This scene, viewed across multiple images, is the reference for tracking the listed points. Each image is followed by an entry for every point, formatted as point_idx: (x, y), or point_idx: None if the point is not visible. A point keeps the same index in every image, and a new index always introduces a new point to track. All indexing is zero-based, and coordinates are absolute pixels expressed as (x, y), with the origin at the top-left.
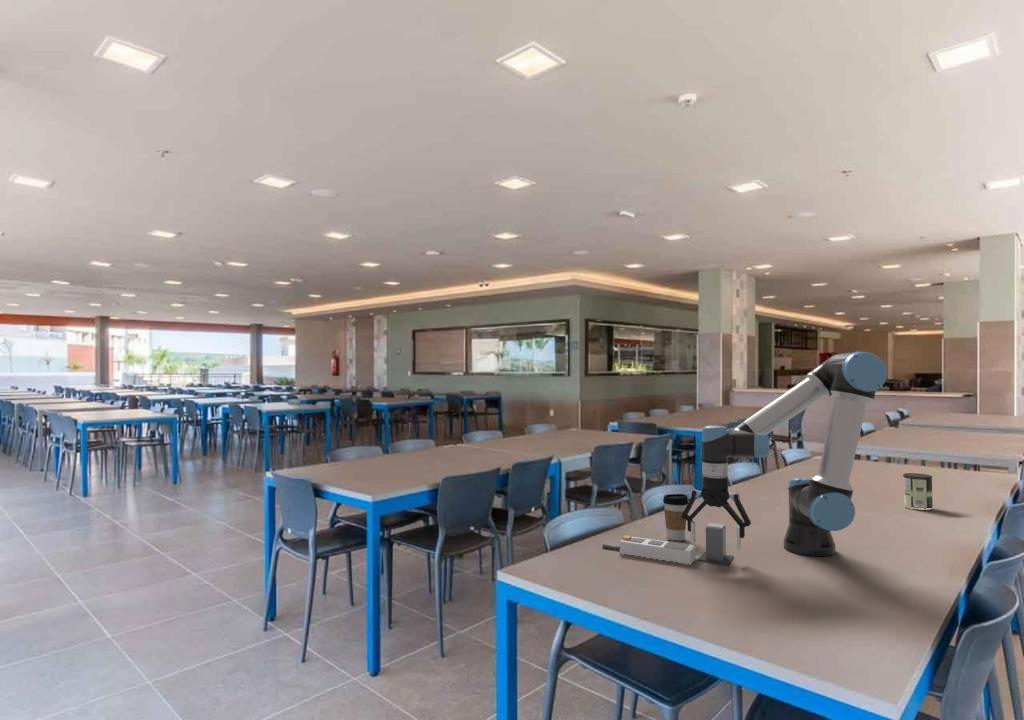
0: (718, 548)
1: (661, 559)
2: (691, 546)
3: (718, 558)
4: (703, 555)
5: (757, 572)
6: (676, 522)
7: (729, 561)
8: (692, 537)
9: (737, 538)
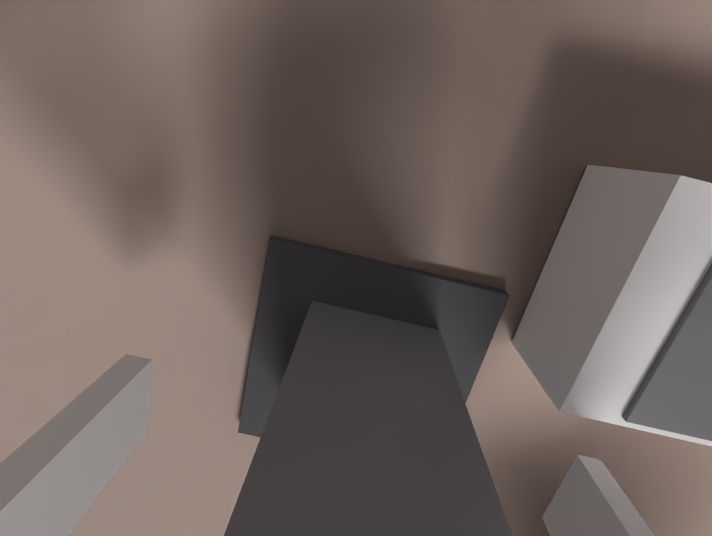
0: (336, 361)
1: None
2: (614, 369)
3: (344, 316)
4: None
5: (46, 113)
6: None
7: (263, 305)
8: (623, 511)
9: (56, 446)
